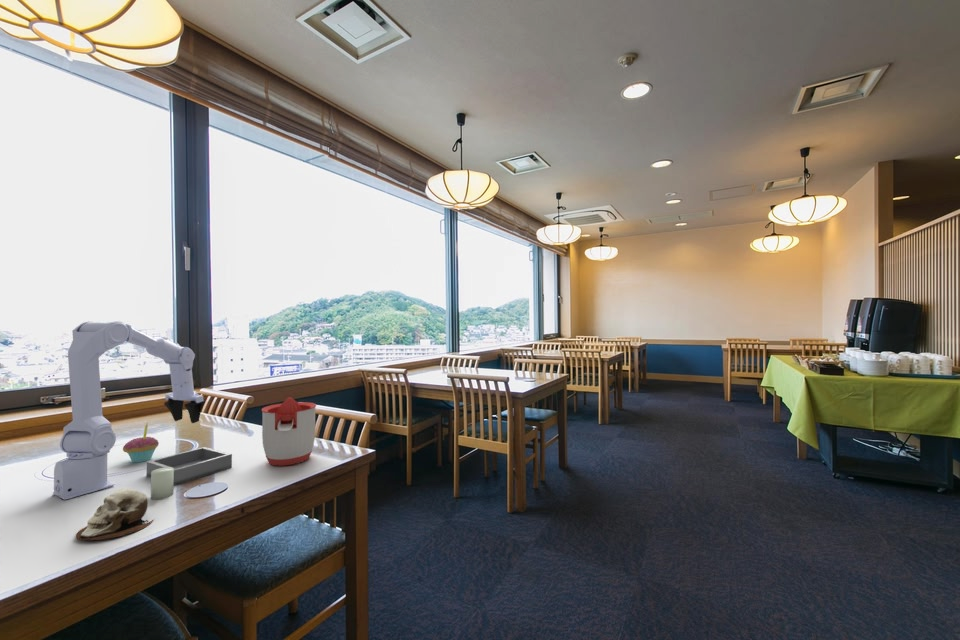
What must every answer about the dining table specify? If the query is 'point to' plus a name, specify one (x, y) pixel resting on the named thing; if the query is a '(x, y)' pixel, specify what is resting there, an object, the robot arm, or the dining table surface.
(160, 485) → the white pillar candle
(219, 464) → the bin
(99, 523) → the skull
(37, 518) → the dining table surface
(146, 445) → the cupcake
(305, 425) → the citrus juicer
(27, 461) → the dining table surface
